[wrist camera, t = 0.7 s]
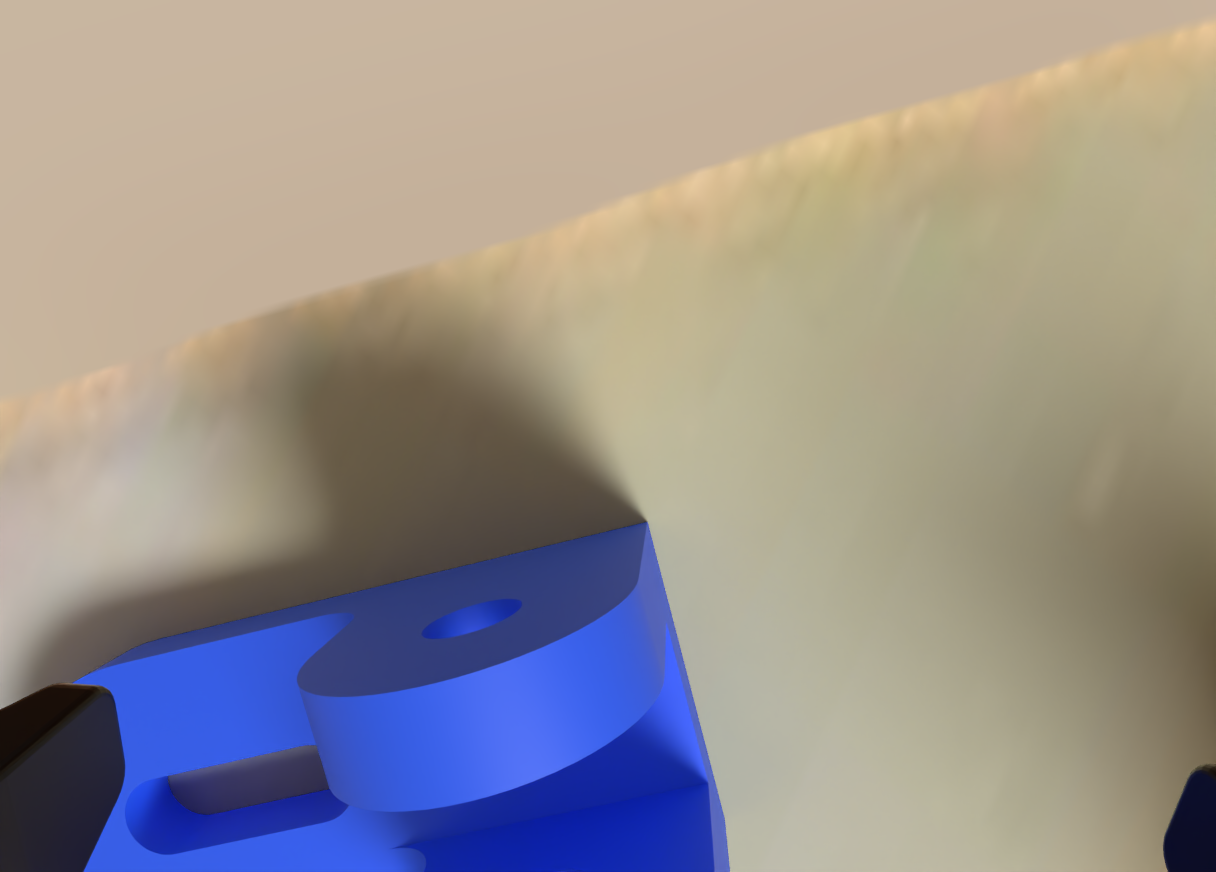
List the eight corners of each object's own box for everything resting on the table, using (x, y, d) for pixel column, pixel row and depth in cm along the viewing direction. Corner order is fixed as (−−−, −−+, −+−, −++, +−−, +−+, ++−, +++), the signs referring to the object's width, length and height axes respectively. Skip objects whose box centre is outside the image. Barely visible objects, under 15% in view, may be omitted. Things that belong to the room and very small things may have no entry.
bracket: (647, 520, 23) (628, 639, 14) (724, 815, 24) (753, 1107, 15) (27, 669, 25) (-341, 859, 16) (117, 938, 25) (-186, 1265, 16)
